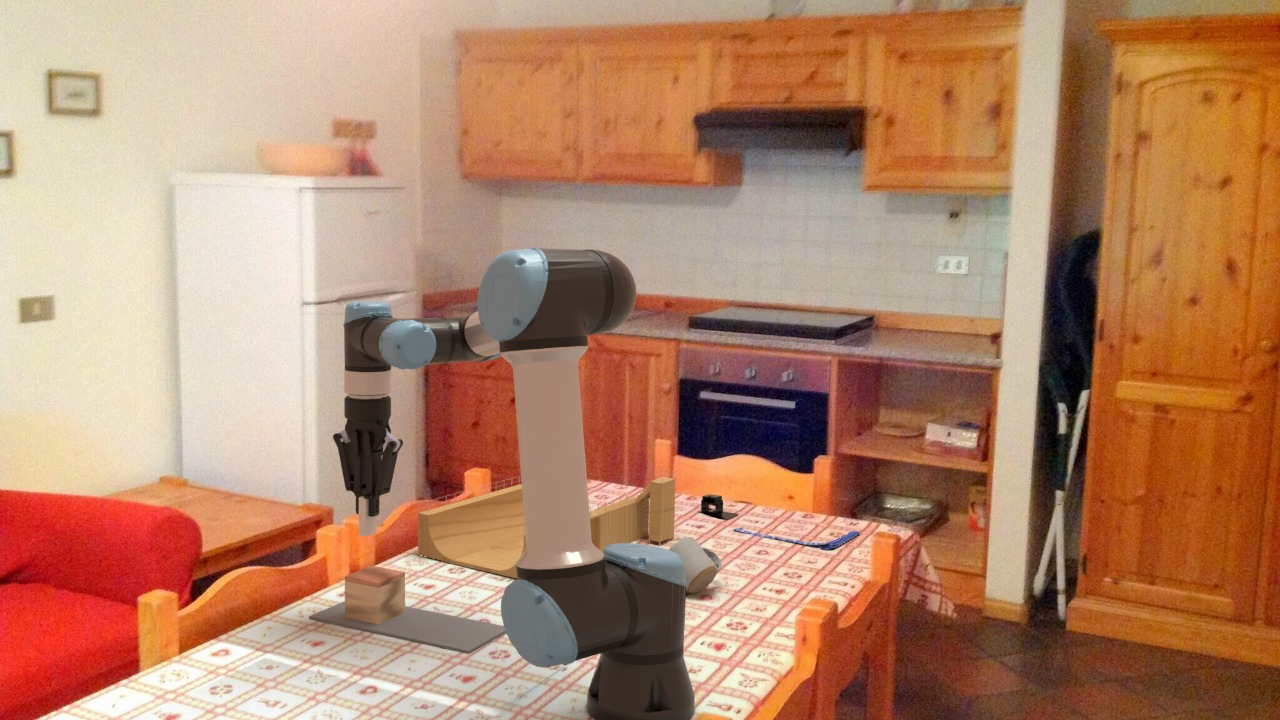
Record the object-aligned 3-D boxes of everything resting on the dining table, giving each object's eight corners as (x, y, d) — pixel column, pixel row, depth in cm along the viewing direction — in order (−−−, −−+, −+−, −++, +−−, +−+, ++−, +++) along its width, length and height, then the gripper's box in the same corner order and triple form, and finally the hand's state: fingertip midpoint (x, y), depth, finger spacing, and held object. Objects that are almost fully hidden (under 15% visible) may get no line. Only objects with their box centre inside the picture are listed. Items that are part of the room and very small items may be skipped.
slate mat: (469, 653, 176) (469, 650, 176) (309, 618, 190) (308, 616, 190) (510, 629, 187) (510, 627, 187) (356, 598, 201) (356, 596, 201)
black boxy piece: (681, 515, 264) (681, 495, 264) (698, 510, 270) (698, 490, 270) (726, 521, 257) (726, 500, 257) (743, 515, 263) (743, 495, 262)
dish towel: (830, 558, 235) (830, 544, 235) (730, 538, 249) (730, 525, 248) (863, 540, 249) (864, 527, 249) (767, 522, 263) (768, 510, 262)
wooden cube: (378, 624, 187) (378, 583, 186) (344, 617, 190) (344, 576, 189) (404, 612, 193) (405, 572, 193) (372, 605, 196) (371, 565, 196)
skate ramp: (540, 519, 260) (541, 450, 258) (673, 545, 241) (675, 470, 240) (417, 560, 226) (417, 480, 225) (561, 593, 208) (563, 507, 206)
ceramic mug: (687, 603, 208) (692, 579, 202) (658, 572, 212) (663, 548, 206) (730, 574, 213) (736, 551, 207) (702, 545, 217) (707, 520, 212)
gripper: (414, 395, 189) (412, 534, 192) (351, 388, 194) (351, 523, 197) (385, 401, 182) (384, 545, 185) (321, 394, 188) (321, 533, 190)
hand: (367, 534), depth 191 cm, fingers closed
